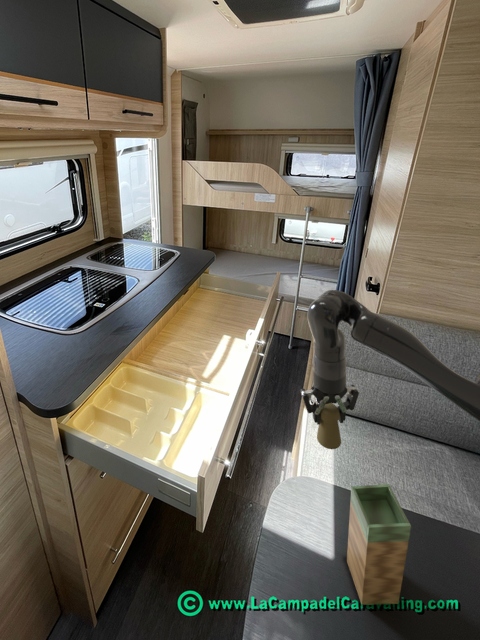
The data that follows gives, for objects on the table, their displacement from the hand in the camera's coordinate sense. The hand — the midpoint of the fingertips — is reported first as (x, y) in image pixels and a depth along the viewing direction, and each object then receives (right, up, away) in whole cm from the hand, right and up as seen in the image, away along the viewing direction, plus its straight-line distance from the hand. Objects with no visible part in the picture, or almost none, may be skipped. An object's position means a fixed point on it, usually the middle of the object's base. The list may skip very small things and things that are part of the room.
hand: (329, 420), depth 84 cm
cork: (+1, -6, +2) cm, 7 cm away
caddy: (+10, -40, -2) cm, 41 cm away
